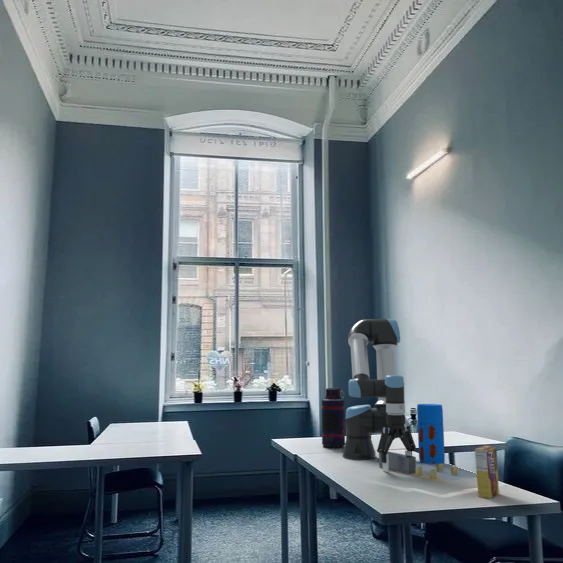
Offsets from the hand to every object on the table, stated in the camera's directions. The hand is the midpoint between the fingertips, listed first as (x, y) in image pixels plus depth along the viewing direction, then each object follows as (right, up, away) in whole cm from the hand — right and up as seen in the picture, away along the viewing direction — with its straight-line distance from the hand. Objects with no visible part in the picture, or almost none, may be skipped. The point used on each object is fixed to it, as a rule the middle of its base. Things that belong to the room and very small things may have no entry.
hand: (397, 469), depth 207 cm
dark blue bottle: (-19, -12, +65) cm, 69 cm away
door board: (+11, -1, -2) cm, 12 cm away
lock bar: (0, 0, 0) cm, 0 cm away
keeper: (+13, +1, -9) cm, 16 cm away
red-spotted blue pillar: (+19, -4, +18) cm, 27 cm away
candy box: (+22, +4, -35) cm, 42 cm away
